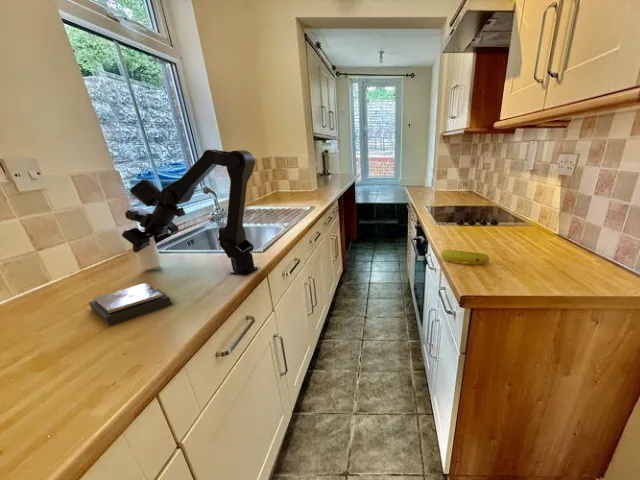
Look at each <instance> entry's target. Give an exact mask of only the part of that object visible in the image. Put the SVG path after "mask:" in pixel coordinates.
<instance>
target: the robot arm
mask: <svg viewBox="0 0 640 480" xmlns="http://www.w3.org/2000/svg"><path fill="white" fill-rule="evenodd" d="M255 165H256V158H255V156H254V155H253V154H252V152H250V151H249V150H246V149H245V150H244V149H242V150H241V149H240V150H239V149H238V150H231V151H225V150H219V149H214V148H213V149H205V151H203V153H202V155H201V156H200V157H199V158H198V159H197V160H196V161H195V162H194V163H193V164H192V165H191V166H190V168H189V169H188V170H187V171H186V172H185V173H184V174H183V175H182V176H181V177H180V178H179V179H176V180H174V181H173V182H171V183H169V184H167V185H166V186H165V187H163V188H162V189H161V190H160V189H159V188H158V187H157V186H155V185H154V184H153V183H152V182H151V180H149V179H148V178H144V179H141V180H140V181H139V182H137V183H136V184H135V185H134V186H132V187H131V188H130V194H131V195H132V196H133V197H135V198H136V199H137V200H138V201H140V202H141V203H142V204H143V205H145V207H154V209H153V211H152V210H151V211H150V210H148V209H145V208H143V207H140V206H135V207H130V208H129V209H126V212H125V213H124V215H125V218H126V219H127V220H130V221H133V222H137V223H138V224H139V227H141V228H143V231H142V230H140V229H139V228H138V227H129V228H127V229H124V230H123V232H122V233H121V237H123V239H125V240H127V242H129V243H131V245H132V244H133V246H132V252H134V254H135V253H137V252H138V251H140V250H142V249H143V248H145V247H147V246H149V245H150V244H149V242H150V238H152V237H154V240H155V243H156V245H157V244H159V243H161V242H163V241H165V240H166V239H169V238H170V237H172V236H175V235H177V234H178V232H180V229H179V226H178V225H177V224H175V223H174V222H173V221H174V219H175V218H176V217H177V218H181V217H183V216H186V215H187V214H186V212H185V210H184V207H183V206H181V207H180V206H178V205H182V204H185V203H189V202H190V200H191V199H192V197H193V196H194V194H195V190H196V188H197V187H198V185H199V184H201V182H203V180H204V179H205V178H206V177H207V176H208V175H209V174H210V173H211V172H212V171H213V170H214V169H215V168H216V167H217V166H221V167H226V171H227V174H228V176H229V179H230V181H229V182H230V184H229V194H228V196H229V197H228V203H227V204H228V206H227V216H226V224H225V226H222V227H219V228H218V238H217V241H218V242H219V243H218V244H219V247H220V248H221V249H222V250H223V251H224V253H225V254H226V256H227V258H228V259H230V263H231V268H232V270H231V271H230V274H234V275H244V276H246V275H249V274H251V273H253V272H254V271H256V270H258V269H259V267H258V266H255V264H254V263H255V262H254V257H253V253H252V252H253V251H254V247H255V245H254V244H253V243H252V242H251V241H250V240H249V239H247V238H246V236H247V235H246V230H245V227H244V214H245V207H246V206H245V205H246V204H245V203H246V197H247V188H248V182H249V180H250V178H251V176H252V174H253V172H254V168H255ZM169 231H170V232H169Z"/></svg>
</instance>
